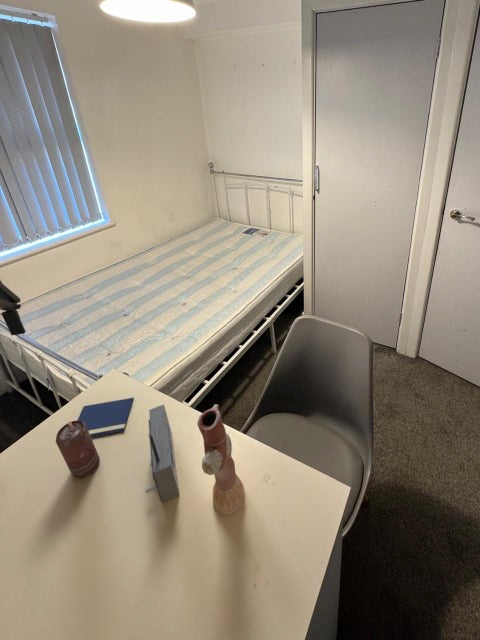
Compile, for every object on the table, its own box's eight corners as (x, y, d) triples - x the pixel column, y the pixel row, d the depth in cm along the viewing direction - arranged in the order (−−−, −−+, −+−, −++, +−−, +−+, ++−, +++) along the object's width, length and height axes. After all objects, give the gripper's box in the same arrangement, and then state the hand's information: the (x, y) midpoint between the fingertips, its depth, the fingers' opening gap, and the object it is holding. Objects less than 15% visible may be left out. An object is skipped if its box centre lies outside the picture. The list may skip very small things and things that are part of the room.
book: (68, 442, 87) (67, 440, 87) (84, 407, 97) (83, 405, 97) (124, 431, 90) (123, 429, 90) (133, 398, 100) (133, 396, 99)
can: (94, 449, 86) (80, 413, 80) (103, 465, 82) (88, 429, 76) (68, 467, 81) (50, 430, 76) (76, 485, 78) (58, 448, 72)
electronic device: (180, 494, 76) (165, 440, 68) (149, 509, 73) (129, 454, 65) (171, 431, 90) (158, 379, 82) (145, 441, 87) (129, 389, 79)
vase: (225, 472, 80) (211, 387, 68) (251, 484, 78) (242, 398, 65) (199, 520, 71) (178, 432, 59) (227, 535, 69) (211, 446, 56)
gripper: (-67, 307, 54) (-15, 396, 63) (17, 245, 76) (47, 317, 85) (-122, 313, 52) (-61, 403, 61) (-20, 248, 74) (14, 321, 83)
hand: (1, 353), depth 73 cm, fingers open, 13 cm apart
